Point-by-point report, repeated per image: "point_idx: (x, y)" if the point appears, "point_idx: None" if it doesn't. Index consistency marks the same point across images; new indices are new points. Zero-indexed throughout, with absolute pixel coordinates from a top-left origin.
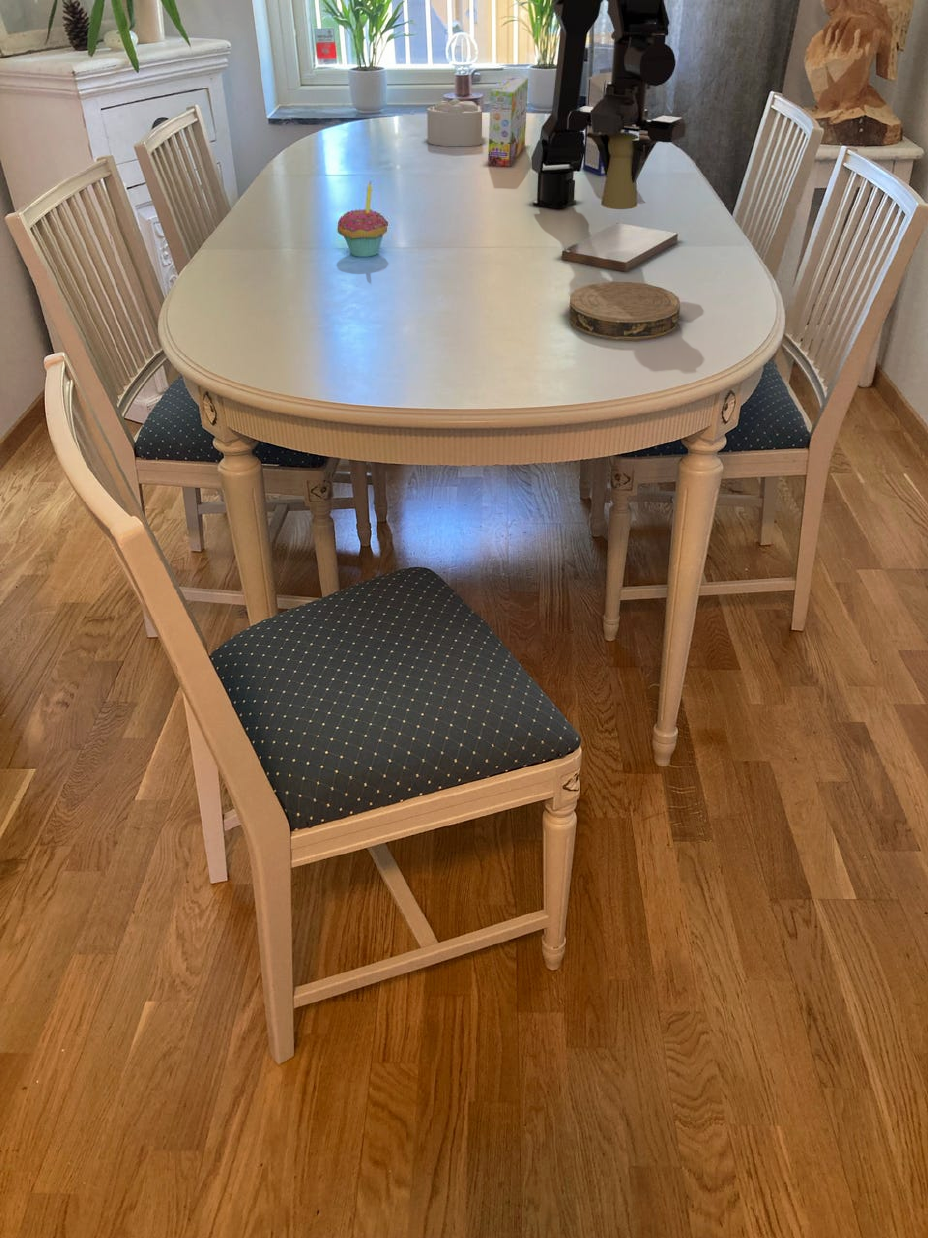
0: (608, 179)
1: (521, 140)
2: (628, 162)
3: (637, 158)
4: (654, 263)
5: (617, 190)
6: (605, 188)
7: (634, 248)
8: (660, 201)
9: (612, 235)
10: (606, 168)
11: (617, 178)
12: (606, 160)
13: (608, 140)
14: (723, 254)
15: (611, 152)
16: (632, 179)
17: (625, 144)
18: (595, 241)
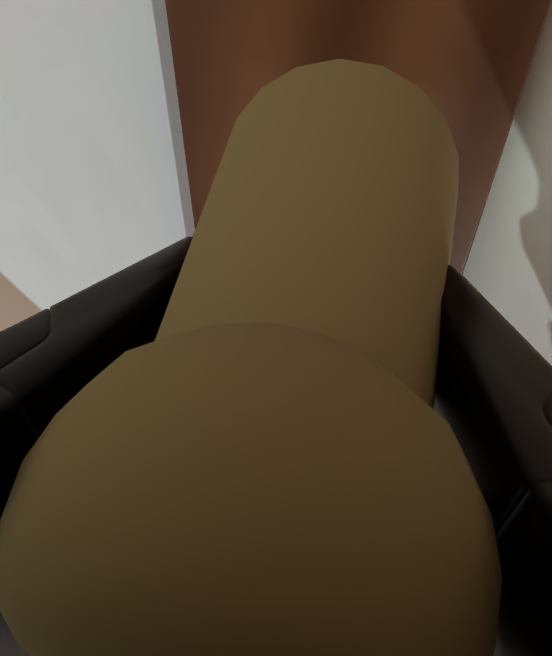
0: (399, 188)
1: None
2: (167, 316)
3: (24, 334)
4: (131, 17)
5: (290, 123)
6: (425, 160)
7: (236, 63)
8: None
9: None
10: (458, 301)
11: (284, 171)
12: (471, 349)
13: (515, 624)
14: (43, 249)
15: (374, 368)
16: (186, 244)
17: (67, 464)
18: (456, 69)
